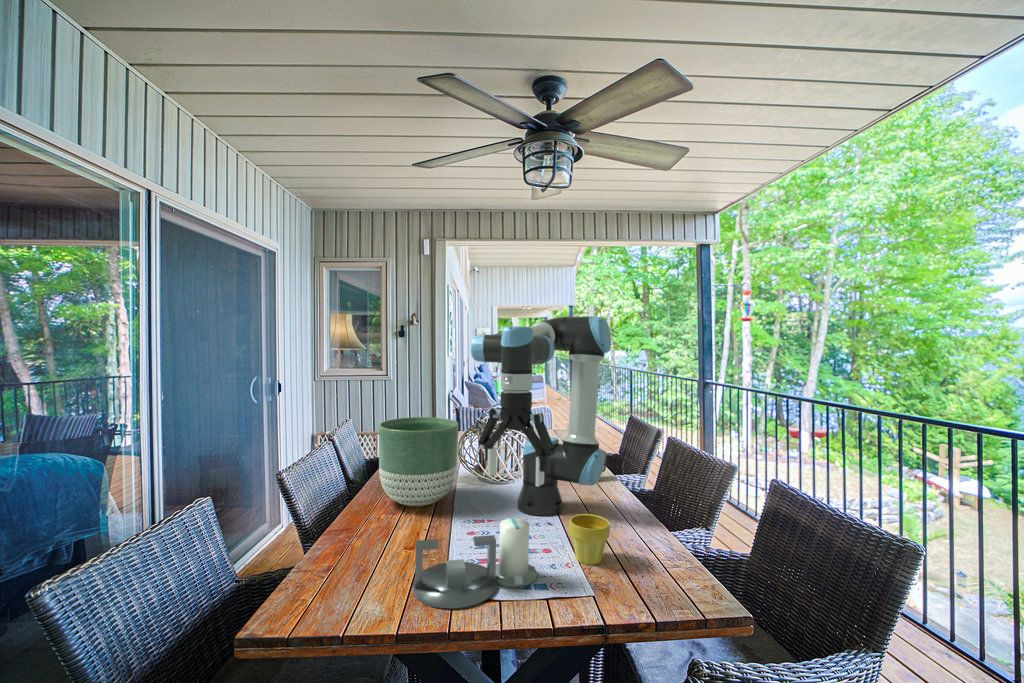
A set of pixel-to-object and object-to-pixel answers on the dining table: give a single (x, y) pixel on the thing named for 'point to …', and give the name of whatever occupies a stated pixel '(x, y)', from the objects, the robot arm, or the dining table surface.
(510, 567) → the white teal-striped cylinder
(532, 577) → the coaster
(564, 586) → the dining table surface
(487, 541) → the grey hook stand
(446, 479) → the planter
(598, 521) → the plant pot
